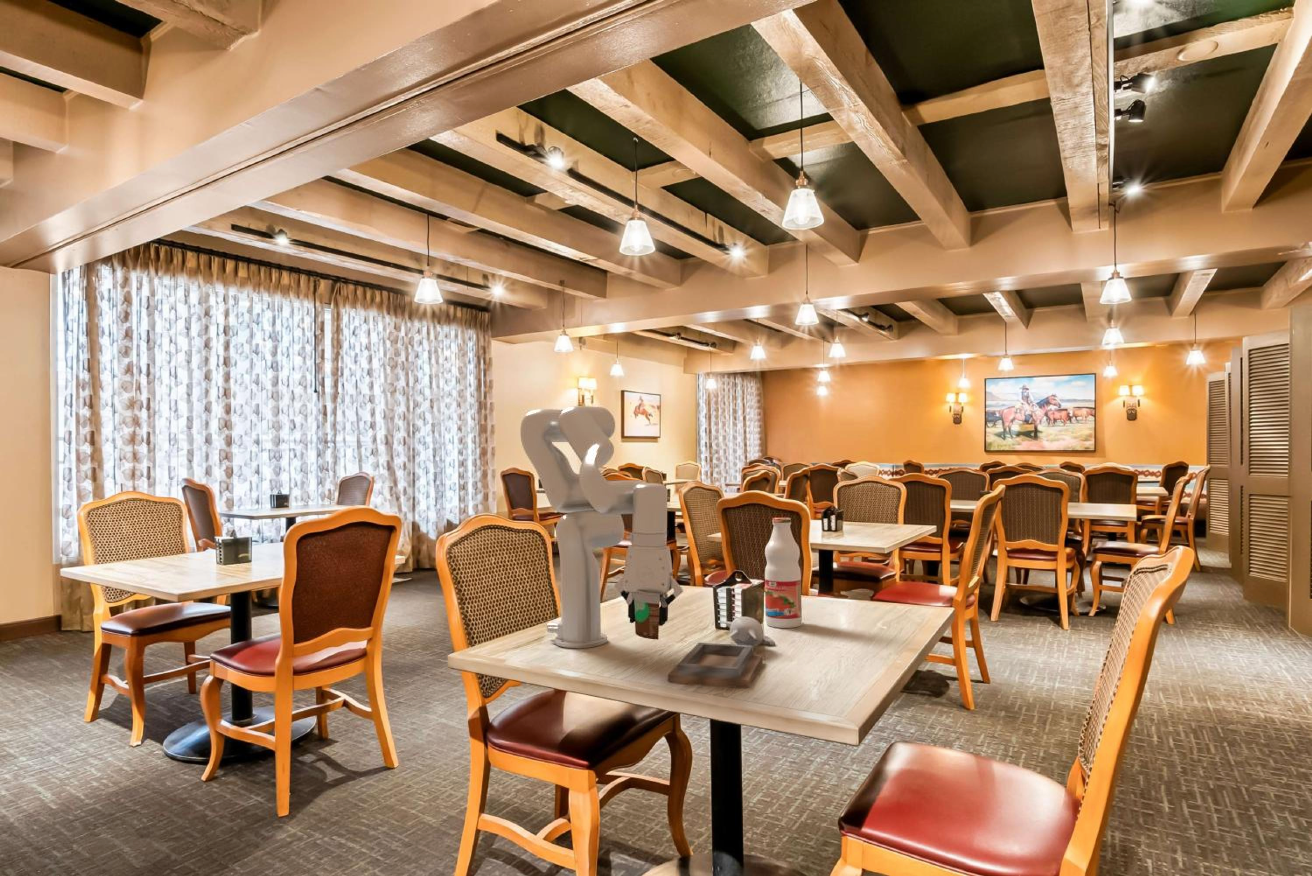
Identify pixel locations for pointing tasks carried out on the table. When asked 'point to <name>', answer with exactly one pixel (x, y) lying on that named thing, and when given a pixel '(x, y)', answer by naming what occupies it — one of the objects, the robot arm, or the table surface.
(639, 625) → the food container
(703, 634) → the table surface
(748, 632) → the toy creature
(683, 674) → the square wooden tray
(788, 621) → the fruit juice
